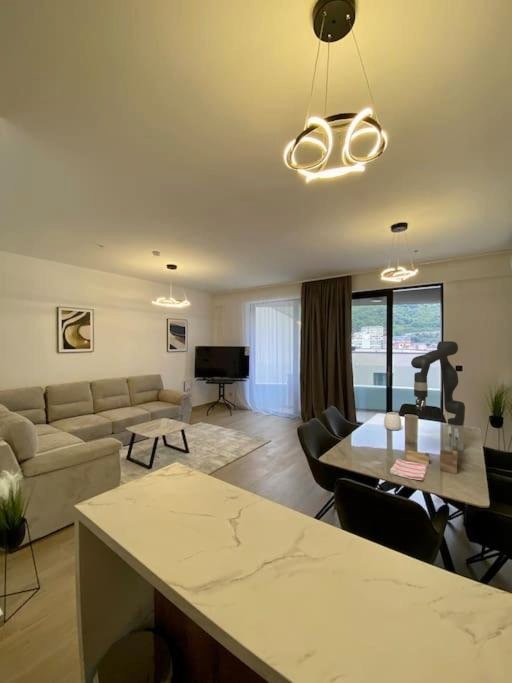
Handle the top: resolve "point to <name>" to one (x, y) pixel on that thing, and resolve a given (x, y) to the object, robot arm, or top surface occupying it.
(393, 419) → the cup
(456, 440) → the bracket
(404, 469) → the dish towel
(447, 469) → the wooden block holder
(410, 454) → the tan rectangular block
